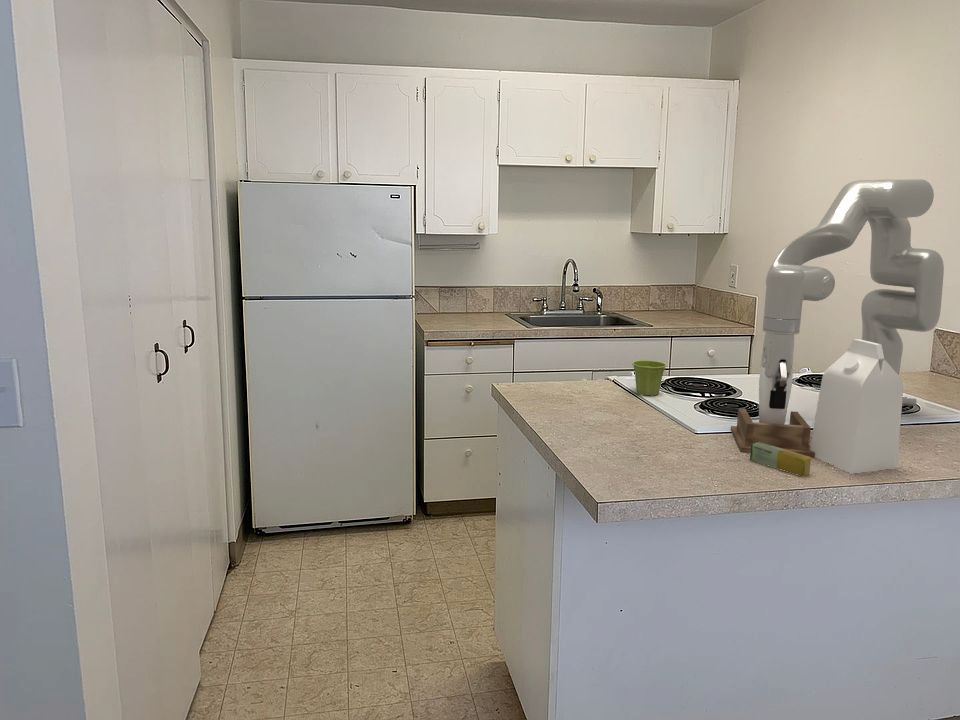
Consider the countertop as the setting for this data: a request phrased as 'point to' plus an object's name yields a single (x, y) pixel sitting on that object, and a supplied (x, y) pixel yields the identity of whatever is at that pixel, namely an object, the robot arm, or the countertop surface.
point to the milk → (859, 411)
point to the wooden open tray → (773, 433)
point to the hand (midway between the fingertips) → (773, 403)
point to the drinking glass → (764, 398)
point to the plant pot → (648, 376)
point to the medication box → (780, 458)
